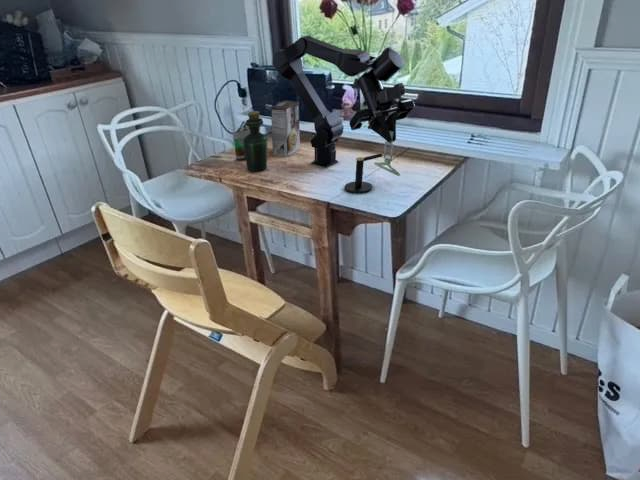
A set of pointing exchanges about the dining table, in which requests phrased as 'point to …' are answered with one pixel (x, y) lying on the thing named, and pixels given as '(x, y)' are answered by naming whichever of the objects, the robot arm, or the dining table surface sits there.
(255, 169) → the potion bottle
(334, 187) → the dining table surface
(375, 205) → the dining table surface
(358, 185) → the black holder stand
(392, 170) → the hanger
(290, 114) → the coffee box
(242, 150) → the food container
